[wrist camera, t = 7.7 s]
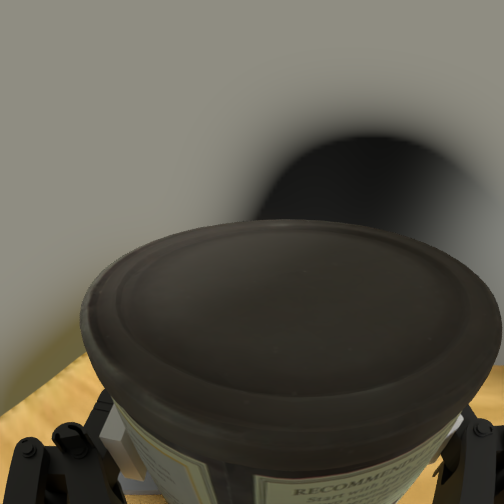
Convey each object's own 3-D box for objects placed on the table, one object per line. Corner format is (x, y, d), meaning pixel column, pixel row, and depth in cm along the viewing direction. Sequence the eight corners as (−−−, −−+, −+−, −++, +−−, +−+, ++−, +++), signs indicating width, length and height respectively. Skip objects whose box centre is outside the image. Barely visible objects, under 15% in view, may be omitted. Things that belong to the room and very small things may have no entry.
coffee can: (275, 414, 19) (283, 206, 14) (401, 489, 12) (511, 262, 7) (146, 490, 13) (50, 260, 8) (272, 614, 5) (350, 622, 1)
